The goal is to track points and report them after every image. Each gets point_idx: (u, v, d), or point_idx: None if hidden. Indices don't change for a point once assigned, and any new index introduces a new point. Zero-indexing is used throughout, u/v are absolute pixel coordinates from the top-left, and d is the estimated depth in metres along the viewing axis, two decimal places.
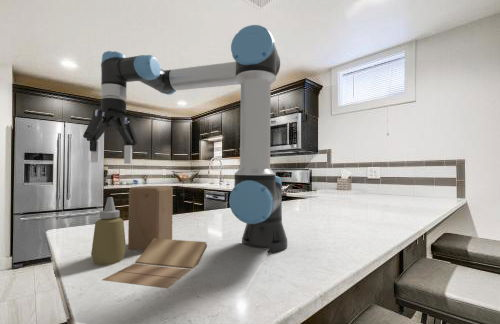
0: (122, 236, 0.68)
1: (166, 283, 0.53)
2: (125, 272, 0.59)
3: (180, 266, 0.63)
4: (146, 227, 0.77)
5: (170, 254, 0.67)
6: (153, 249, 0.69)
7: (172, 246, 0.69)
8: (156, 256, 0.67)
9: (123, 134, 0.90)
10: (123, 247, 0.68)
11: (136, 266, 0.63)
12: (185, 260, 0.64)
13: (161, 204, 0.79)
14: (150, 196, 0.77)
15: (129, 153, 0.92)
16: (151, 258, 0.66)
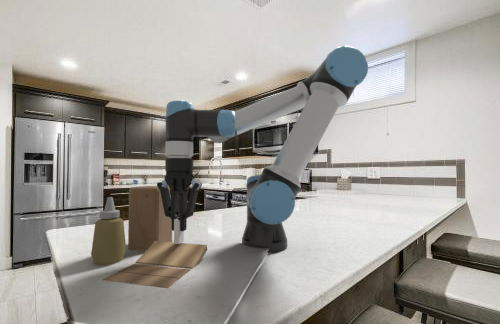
0: (122, 236, 0.68)
1: (166, 283, 0.53)
2: (125, 272, 0.59)
3: (180, 266, 0.63)
4: (146, 227, 0.77)
5: (170, 255, 0.67)
6: (154, 251, 0.69)
7: (173, 248, 0.70)
8: (157, 257, 0.67)
9: None
10: (123, 247, 0.68)
11: (136, 266, 0.63)
12: (185, 261, 0.64)
13: (161, 204, 0.79)
14: (150, 196, 0.77)
15: None
16: (151, 259, 0.66)
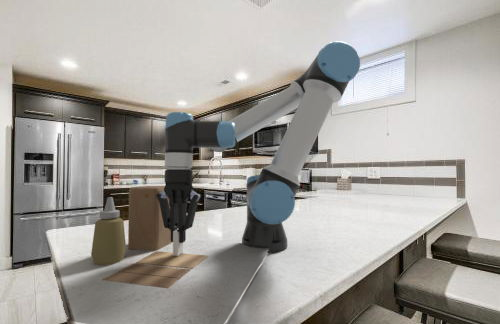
0: (122, 236, 0.68)
1: (166, 283, 0.53)
2: (125, 272, 0.59)
3: (180, 266, 0.63)
4: (146, 227, 0.77)
5: (171, 260, 0.67)
6: (155, 256, 0.70)
7: (173, 256, 0.70)
8: (157, 260, 0.67)
9: None
10: (123, 247, 0.68)
11: (136, 266, 0.63)
12: (186, 264, 0.64)
13: None
14: (150, 196, 0.77)
15: None
16: (152, 261, 0.66)
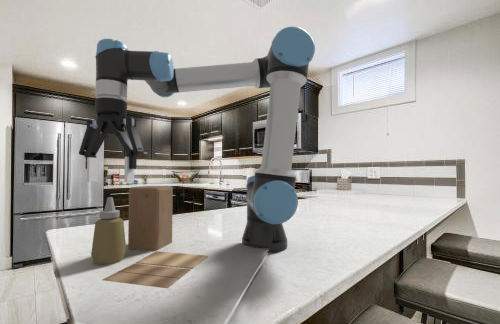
0: (122, 236, 0.68)
1: (166, 283, 0.53)
2: (125, 272, 0.59)
3: (180, 266, 0.63)
4: (146, 227, 0.77)
5: (171, 260, 0.67)
6: (155, 256, 0.70)
7: (173, 256, 0.70)
8: (157, 260, 0.67)
9: None
10: (123, 247, 0.68)
11: (136, 266, 0.63)
12: (186, 264, 0.64)
13: (161, 204, 0.79)
14: (150, 196, 0.77)
15: None
16: (152, 261, 0.66)
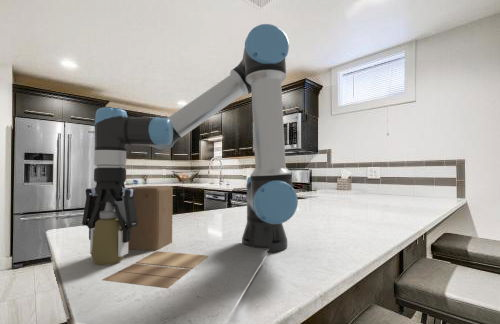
0: None
1: (166, 283, 0.53)
2: (125, 272, 0.59)
3: (180, 266, 0.63)
4: (146, 227, 0.77)
5: (171, 260, 0.67)
6: (155, 256, 0.70)
7: (173, 256, 0.70)
8: (157, 260, 0.67)
9: None
10: None
11: (136, 266, 0.63)
12: (186, 264, 0.64)
13: (161, 204, 0.79)
14: (150, 196, 0.77)
15: None
16: (152, 261, 0.66)
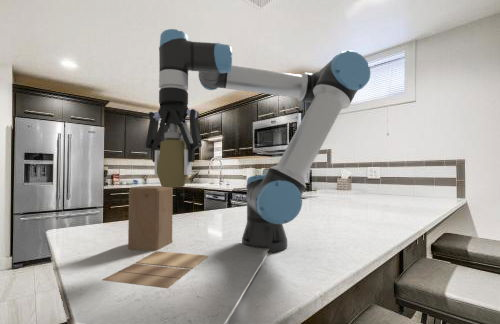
0: None
1: (166, 283, 0.53)
2: (125, 272, 0.59)
3: (180, 266, 0.63)
4: (146, 227, 0.77)
5: (171, 260, 0.67)
6: (155, 256, 0.70)
7: (173, 256, 0.70)
8: (157, 260, 0.67)
9: None
10: None
11: (136, 266, 0.63)
12: (186, 264, 0.64)
13: (161, 204, 0.79)
14: (150, 196, 0.77)
15: None
16: (152, 261, 0.66)
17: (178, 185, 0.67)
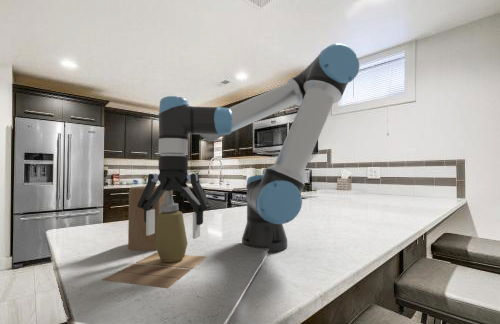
0: (184, 228, 0.68)
1: (166, 283, 0.53)
2: (125, 272, 0.59)
3: (180, 266, 0.63)
4: None
5: None
6: (155, 257, 0.70)
7: None
8: (157, 261, 0.67)
9: None
10: (186, 239, 0.68)
11: (136, 266, 0.63)
12: (186, 264, 0.64)
13: (161, 204, 0.79)
14: None
15: None
16: (152, 261, 0.66)
17: (178, 259, 0.66)
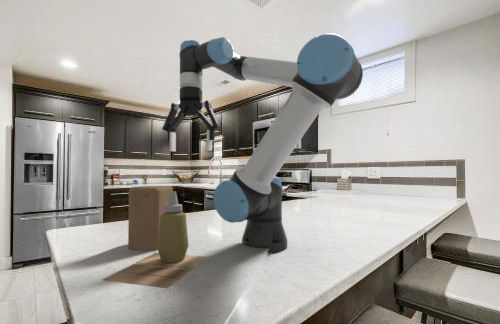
0: (186, 230, 0.68)
1: (166, 283, 0.53)
2: (125, 272, 0.59)
3: (180, 266, 0.63)
4: (146, 227, 0.77)
5: None
6: (155, 257, 0.70)
7: None
8: (157, 261, 0.67)
9: None
10: (187, 241, 0.68)
11: (136, 266, 0.63)
12: (186, 264, 0.64)
13: (161, 204, 0.79)
14: (150, 196, 0.77)
15: None
16: (152, 261, 0.66)
17: (178, 260, 0.66)
